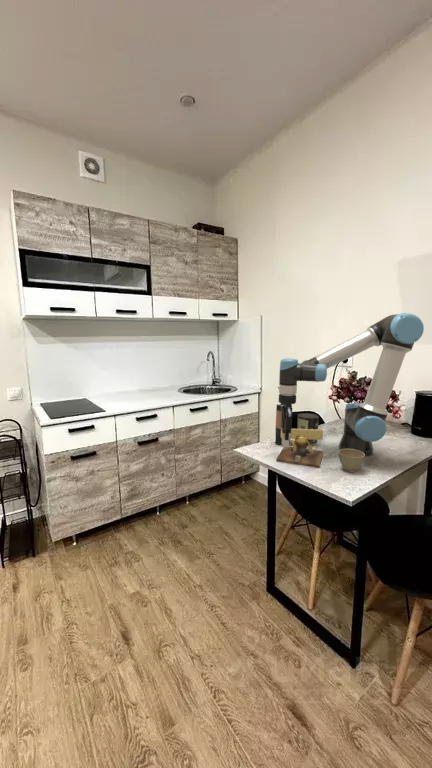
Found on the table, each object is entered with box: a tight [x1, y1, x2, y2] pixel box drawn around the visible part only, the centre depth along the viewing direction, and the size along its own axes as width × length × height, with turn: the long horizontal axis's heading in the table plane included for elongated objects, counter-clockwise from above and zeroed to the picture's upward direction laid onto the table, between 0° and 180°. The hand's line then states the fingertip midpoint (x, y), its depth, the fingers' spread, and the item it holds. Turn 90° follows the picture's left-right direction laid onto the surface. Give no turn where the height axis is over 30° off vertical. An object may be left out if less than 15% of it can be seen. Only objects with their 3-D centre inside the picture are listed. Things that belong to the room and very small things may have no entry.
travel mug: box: [275, 403, 293, 447], centre depth 166 cm, size 8×8×20 cm
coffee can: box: [296, 412, 320, 446], centre depth 169 cm, size 10×10×14 cm
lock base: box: [275, 445, 324, 469], centre depth 149 cm, size 18×18×6 cm
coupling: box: [281, 427, 324, 452], centre depth 148 cm, size 18×8×9 cm, turn 86°
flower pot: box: [338, 449, 366, 473], centre depth 137 cm, size 10×10×7 cm
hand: (285, 445), depth 149 cm, fingers closed on coupling, 2 cm apart
